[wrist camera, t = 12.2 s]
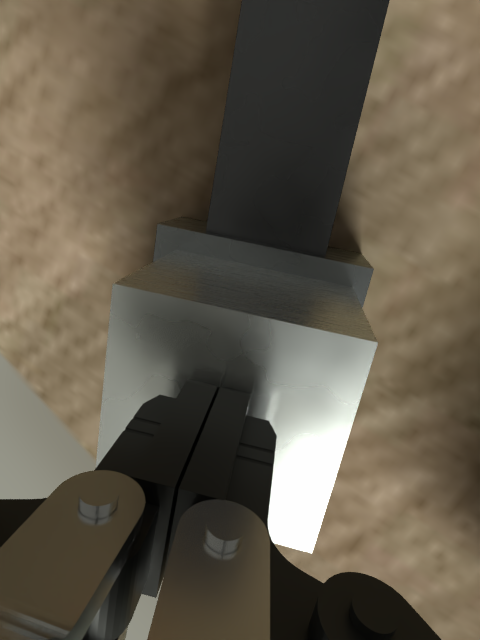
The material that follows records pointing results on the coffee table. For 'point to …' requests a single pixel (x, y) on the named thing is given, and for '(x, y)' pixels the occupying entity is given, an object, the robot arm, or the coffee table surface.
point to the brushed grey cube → (246, 365)
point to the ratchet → (288, 140)
